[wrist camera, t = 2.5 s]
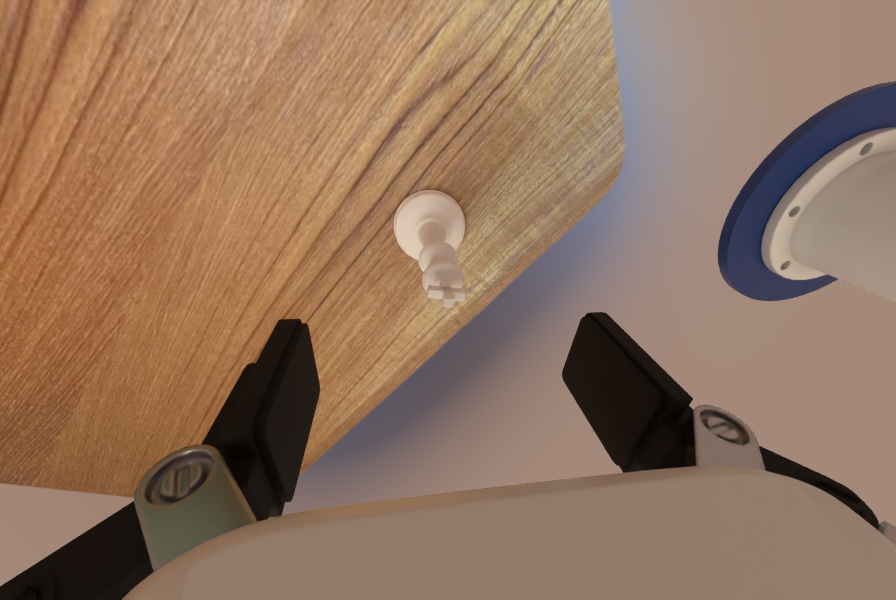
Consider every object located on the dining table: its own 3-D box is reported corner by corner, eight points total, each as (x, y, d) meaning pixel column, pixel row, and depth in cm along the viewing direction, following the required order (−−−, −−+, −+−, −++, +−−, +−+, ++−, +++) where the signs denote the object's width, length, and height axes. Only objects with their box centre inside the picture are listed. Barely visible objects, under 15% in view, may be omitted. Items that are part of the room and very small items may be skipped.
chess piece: (456, 262, 24) (488, 350, 15) (390, 254, 23) (384, 344, 14) (471, 196, 21) (519, 257, 13) (397, 183, 20) (397, 241, 12)
